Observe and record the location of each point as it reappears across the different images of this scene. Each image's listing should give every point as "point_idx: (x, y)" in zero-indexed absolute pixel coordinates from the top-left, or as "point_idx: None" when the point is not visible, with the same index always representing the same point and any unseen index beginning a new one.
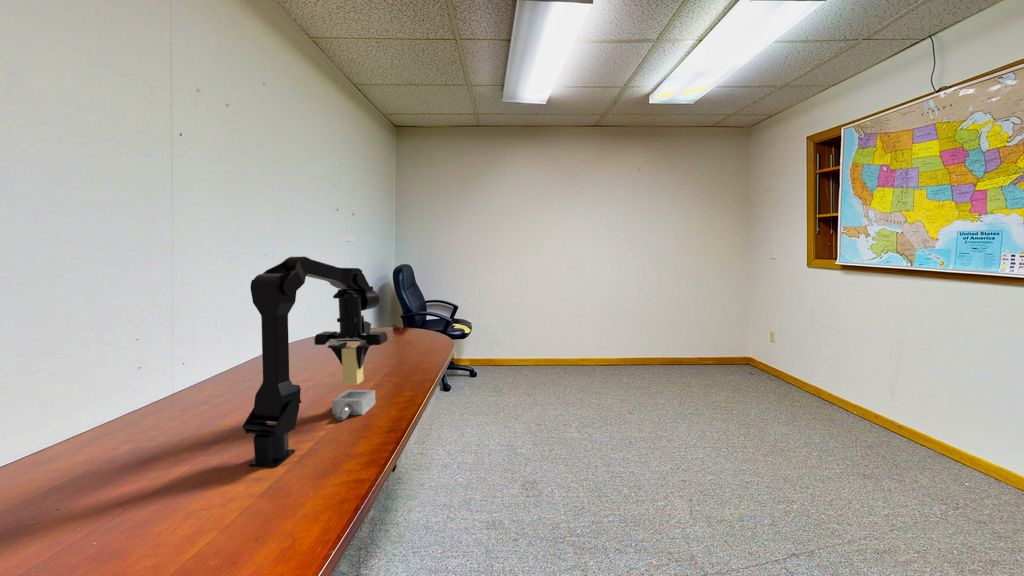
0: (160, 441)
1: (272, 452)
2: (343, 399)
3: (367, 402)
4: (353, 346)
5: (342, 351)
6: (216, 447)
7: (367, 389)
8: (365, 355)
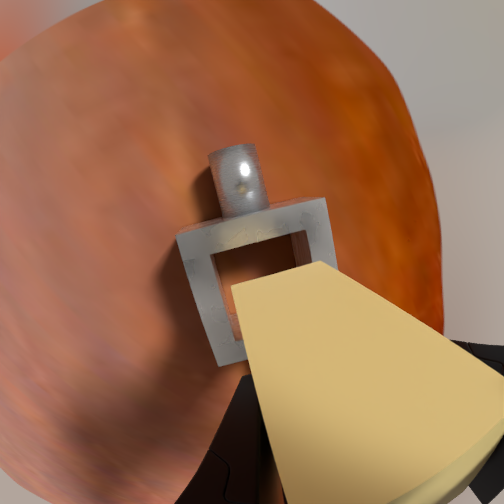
0: (41, 462)
1: None
2: None
3: None
4: (426, 495)
5: None
6: (134, 480)
7: (241, 152)
8: (472, 346)
